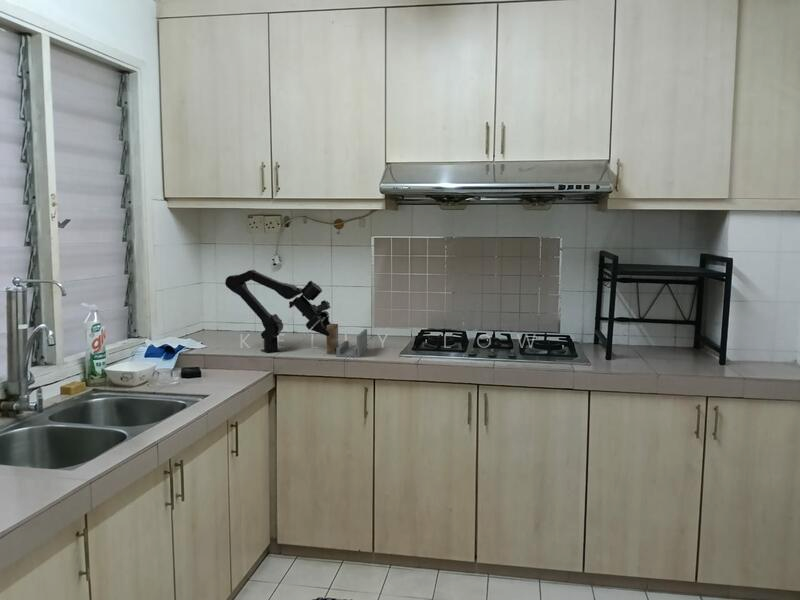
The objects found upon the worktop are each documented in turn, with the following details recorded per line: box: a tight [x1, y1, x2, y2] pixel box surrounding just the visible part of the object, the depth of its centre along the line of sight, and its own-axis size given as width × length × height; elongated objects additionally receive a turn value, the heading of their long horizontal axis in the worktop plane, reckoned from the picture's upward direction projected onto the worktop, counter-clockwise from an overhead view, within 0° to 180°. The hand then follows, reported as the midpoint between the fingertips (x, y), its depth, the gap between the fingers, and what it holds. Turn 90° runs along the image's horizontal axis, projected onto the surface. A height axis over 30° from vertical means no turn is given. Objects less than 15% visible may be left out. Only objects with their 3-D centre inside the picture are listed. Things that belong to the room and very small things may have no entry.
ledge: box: [335, 328, 368, 358], centre depth 274 cm, size 10×18×9 cm, turn 173°
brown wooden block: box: [325, 323, 339, 355], centre depth 275 cm, size 4×6×12 cm
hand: (331, 333), depth 275 cm, fingers open, 9 cm apart
